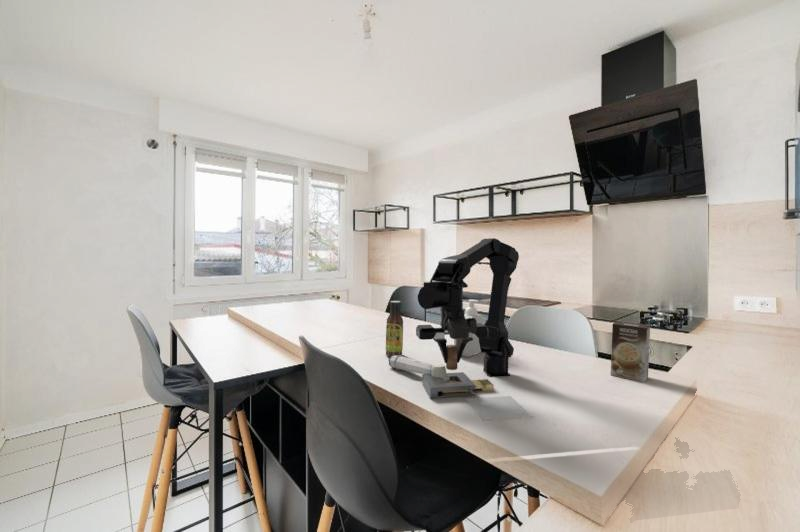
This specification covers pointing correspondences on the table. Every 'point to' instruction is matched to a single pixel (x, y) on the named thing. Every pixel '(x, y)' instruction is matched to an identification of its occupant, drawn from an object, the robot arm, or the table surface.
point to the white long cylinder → (418, 367)
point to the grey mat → (498, 408)
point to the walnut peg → (451, 357)
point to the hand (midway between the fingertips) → (451, 362)
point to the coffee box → (630, 350)
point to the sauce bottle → (394, 330)
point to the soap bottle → (473, 345)
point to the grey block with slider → (453, 386)
